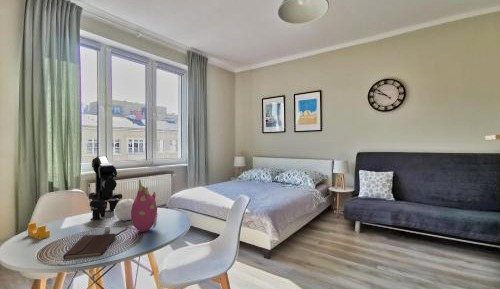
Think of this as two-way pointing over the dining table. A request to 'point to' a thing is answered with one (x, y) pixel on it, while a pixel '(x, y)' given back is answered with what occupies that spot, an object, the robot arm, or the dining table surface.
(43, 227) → the pipe clamp
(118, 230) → the gray square plate
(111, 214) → the ring
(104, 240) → the notebook
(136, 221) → the pink dragon fruit
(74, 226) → the dining table surface
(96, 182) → the robot arm
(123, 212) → the geodesic sphere
